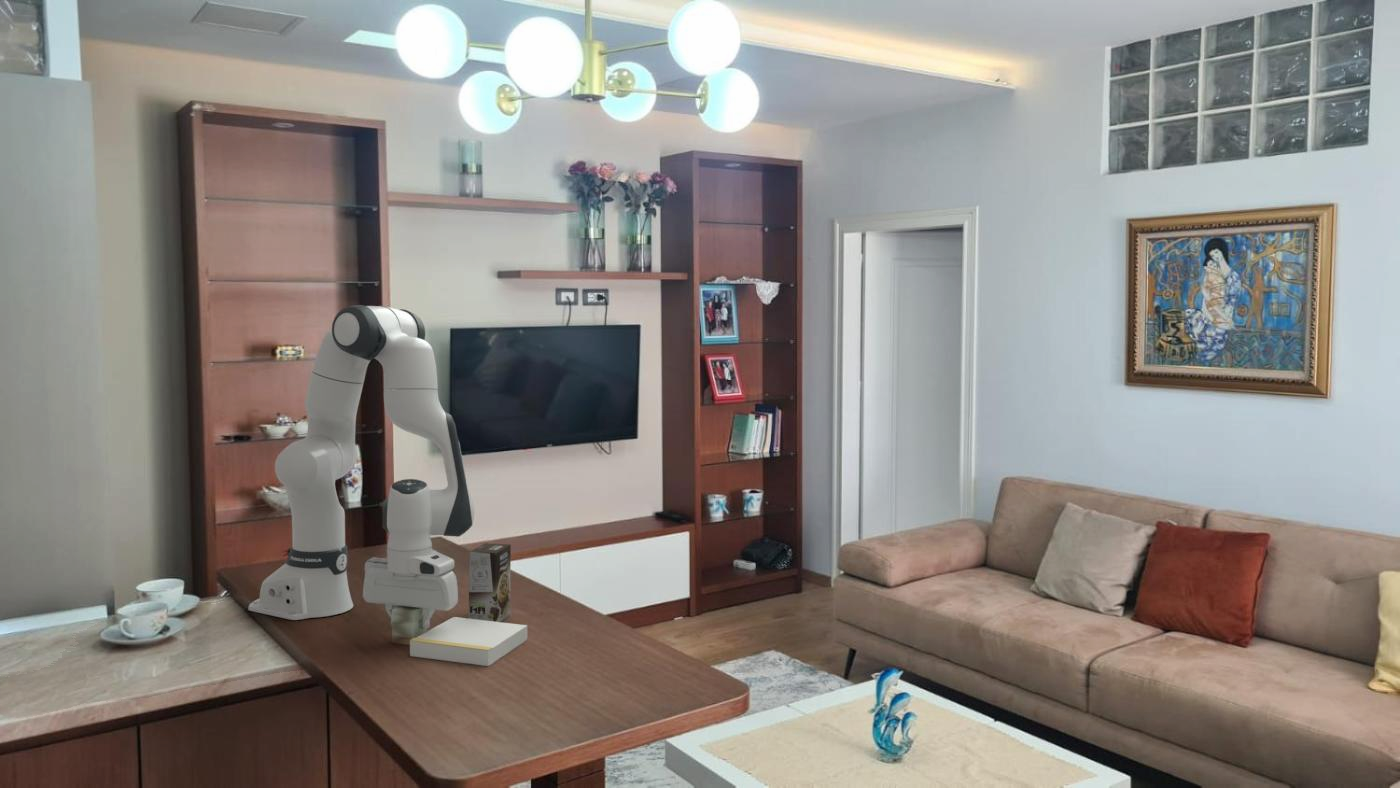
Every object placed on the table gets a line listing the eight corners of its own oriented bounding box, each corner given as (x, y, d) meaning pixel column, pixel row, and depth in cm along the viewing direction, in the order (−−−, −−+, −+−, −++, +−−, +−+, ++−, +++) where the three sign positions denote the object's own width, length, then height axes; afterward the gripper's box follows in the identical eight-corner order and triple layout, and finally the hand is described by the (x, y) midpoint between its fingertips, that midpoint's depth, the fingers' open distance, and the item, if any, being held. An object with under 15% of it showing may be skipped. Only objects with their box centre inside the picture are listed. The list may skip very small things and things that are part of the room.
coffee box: (495, 627, 229) (496, 553, 228) (467, 624, 231) (467, 551, 229) (511, 615, 238) (511, 543, 237) (484, 612, 239) (484, 541, 238)
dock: (410, 656, 210) (409, 640, 210) (453, 630, 226) (453, 615, 226) (488, 666, 205) (488, 649, 205) (527, 639, 221) (527, 624, 221)
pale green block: (392, 642, 218) (392, 609, 217) (405, 635, 223) (405, 602, 222) (413, 645, 216) (413, 611, 216) (426, 638, 221) (426, 604, 220)
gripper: (356, 559, 218) (356, 626, 219) (446, 568, 212) (446, 636, 214) (373, 552, 224) (374, 617, 225) (461, 560, 218) (462, 627, 220)
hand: (410, 626), depth 219 cm, fingers closed on pale green block, 5 cm apart
